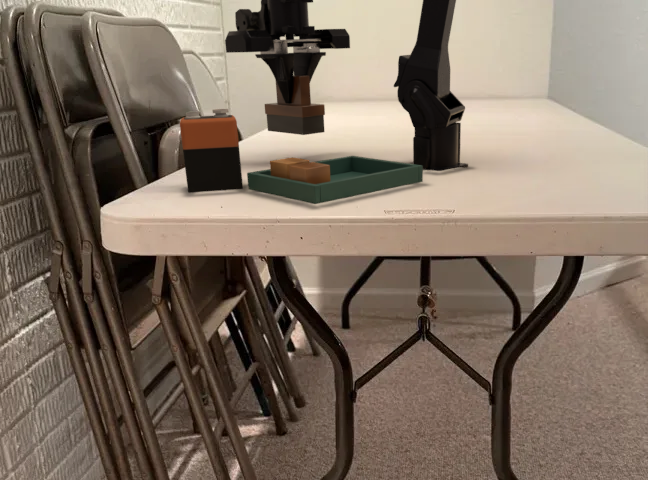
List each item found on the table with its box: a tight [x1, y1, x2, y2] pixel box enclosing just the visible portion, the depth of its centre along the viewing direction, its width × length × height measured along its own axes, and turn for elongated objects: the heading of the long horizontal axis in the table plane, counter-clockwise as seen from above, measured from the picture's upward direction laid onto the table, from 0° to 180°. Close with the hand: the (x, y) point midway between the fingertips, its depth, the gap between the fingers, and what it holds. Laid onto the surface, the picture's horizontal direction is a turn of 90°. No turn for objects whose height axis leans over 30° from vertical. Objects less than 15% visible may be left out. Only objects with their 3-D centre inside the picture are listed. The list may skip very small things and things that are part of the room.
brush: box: [264, 74, 326, 136], centre depth 107 cm, size 4×9×8 cm, turn 43°
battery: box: [179, 108, 244, 193], centre depth 90 cm, size 4×7×10 cm, turn 103°
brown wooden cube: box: [269, 157, 310, 179], centre depth 89 cm, size 4×4×4 cm
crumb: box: [289, 161, 330, 184], centre depth 85 cm, size 4×4×4 cm
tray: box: [246, 155, 424, 205], centre depth 91 cm, size 18×14×2 cm
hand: (294, 102), depth 107 cm, fingers closed on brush, 2 cm apart
